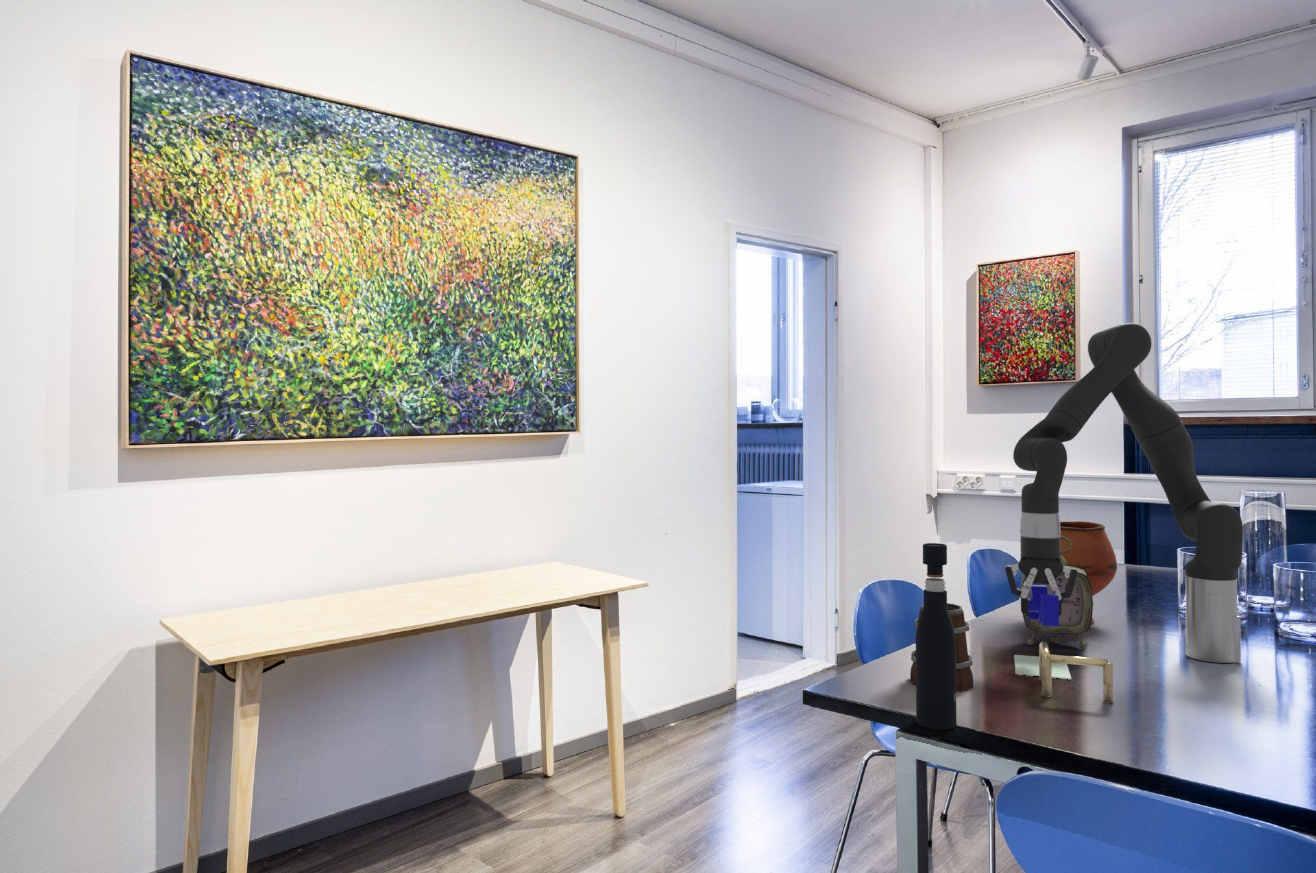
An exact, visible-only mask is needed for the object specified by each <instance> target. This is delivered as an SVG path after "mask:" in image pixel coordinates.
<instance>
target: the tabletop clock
mask: <svg viewBox="0 0 1316 873" xmlns="http://www.w3.org/2000/svg"><path fill="white" fill-rule="evenodd" d="M1060 539H1063V540H1066V541H1067V542H1068V543H1069V544H1070V547H1069V549H1067V550H1063V551H1061V554H1063V553H1067V552H1068V551H1070V550H1071V548H1072V543H1071V541H1070V540H1069V539H1067V538H1065V537H1063V536H1060ZM1061 563H1062V564H1063V566H1065V567H1068V568H1075V569H1076V570H1077V577H1076V580H1075V584H1074V588H1073V591H1072V595H1071V597H1070V598H1064V599H1063V600H1062V614H1061V616H1059V626H1042V625H1041V623H1040V622H1039V621H1038V620H1037V619H1028V617H1027V616H1025V614H1024V613H1022V619H1023V622H1024V624H1025V626H1026V628H1027V629H1029V630H1032V634H1031V637H1028V638H1027V639H1026V644H1027V645H1029V646H1033V645H1035V640H1034V639H1035V637H1036V635H1037V633H1038V632H1039V633H1045V634H1053V635H1052V636H1051V637H1050V640H1051V642H1052V643H1054V644H1056V643H1058V642H1059V640H1060V639H1059V636H1057V635H1074V636H1075V637H1076V638H1077V640H1078V641H1079V643H1078V647H1079V649H1081V650H1086V649H1087V647H1088V644H1087V643H1086V642H1085V641H1083V640H1082V637H1081V635H1082V634H1085V633H1087V632H1089V630H1090V627H1091V626H1092V624H1091V621H1092V618H1093V611H1094V608H1093V607H1094V598H1093V597H1094V596H1092V588H1091V584H1090V581H1089V579H1088V577H1087V575H1086V573H1085V572H1084V570H1081V569H1079V568H1076V567H1070V566H1068V565H1067V562H1066V560H1065V559H1064V558H1063V557H1062V556H1061ZM1025 579H1026V577H1025V576H1024V574H1023V573H1022V576H1021V582H1020V590H1022V587H1023V585H1024V582H1025ZM1067 579H1068V578H1066V577H1065V572H1064V571H1062V572H1061V573H1060V574H1059V576H1058V577H1057V578H1056V579H1055V582H1056V584H1057V587H1058V589H1059V592H1062V591H1064V590H1065V586H1066V583H1067ZM1032 585H1046V586H1047V594H1048V595H1054V594H1053V591H1052V589H1051V586H1050V584H1042V583H1038V584H1033V583H1032ZM1027 597H1028V599H1031V588H1030V590H1029V592H1028V595H1027Z"/></svg>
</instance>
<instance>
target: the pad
mask: <svg viewBox="0 0 1316 873" xmlns="http://www.w3.org/2000/svg"><path fill="white" fill-rule="evenodd" d="M1013 659H1014V669H1015V670H1014V672H1015V675H1016V676H1022V675H1026V676H1025V677H1033V676H1039V656H1035V655H1023V654H1022V655H1021V654H1013ZM1051 670H1052V679H1056V678H1059V679H1058V680H1060V679H1061V680H1067V679H1068V680H1069V681H1072V675H1071V673H1070V670H1069V666H1068V664H1064V663H1053V662H1051ZM1017 674H1018V675H1017Z"/></svg>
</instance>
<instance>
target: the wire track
mask: <svg viewBox="0 0 1316 873" xmlns="http://www.w3.org/2000/svg"><path fill="white" fill-rule="evenodd" d="M1038 647H1039V648H1038V649H1039V650H1038V653H1039V654H1038V657H1039V677H1038V678H1039V680H1040V681H1039V682H1041V681H1042V682H1041V696H1042V695H1043V696H1052V697H1053V694H1052V693H1053V692H1052V690H1053V688H1052V686H1053V685H1052V679H1053V678H1052V670H1051V662H1053V663H1064V664H1067V665H1076V666H1077V665H1078V666H1080V665H1081V666H1091V667H1099V668H1100V667H1102V701H1104V702H1103V703H1105V702H1108V703H1107V704H1110V703H1111V704H1114V663H1113V662H1110V661H1109V659H1108V658H1098V657H1087V656H1086V657H1085V656H1074V655H1062V654H1061V655H1060V654H1051V652H1050V650H1049V644H1048V643H1047V642H1046V641H1041V642H1040V643H1039V644H1038ZM1043 696H1042V697H1043Z"/></svg>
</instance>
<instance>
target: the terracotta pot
mask: <svg viewBox="0 0 1316 873" xmlns="http://www.w3.org/2000/svg"><path fill="white" fill-rule="evenodd" d="M1105 528H1106V527H1105V525H1104V524H1102V523H1096V522H1091V521H1083V520H1082V521H1060V530H1061V535H1060V536H1063V537H1065V538H1067V539H1069V540H1070V541H1071V543H1072V548H1071V550H1070V551H1068V552H1067V553H1063V554H1061V556H1062V557H1063V558H1064V559H1065V560H1066V562H1067V565H1068V566H1070V567H1076V568H1079V569H1081V570H1084V572H1085V573H1086V575H1087V577H1088V579H1089V581H1090V584H1091V588H1092V597H1094V596H1095V595H1097V594H1099V593H1100V592H1102V591H1104V589H1105V588H1106V587H1107V586H1108V585H1109V584H1110V583H1111V582H1112V581H1113V580H1114V578H1115V575H1116V573H1117V570H1118V564H1117V563H1118V561H1117V556H1116V554H1115V550H1114V548H1113V545H1112V543H1111V541H1110V539H1109V537H1108V535H1107V532H1106V529H1105ZM1069 547H1070V544H1069V543H1068V542H1067V541H1066V540H1063V539H1060V549H1061V551H1063V550H1067V549H1069ZM1094 623H1095V619H1094V617H1092V621H1091V625H1092V624H1094Z"/></svg>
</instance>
